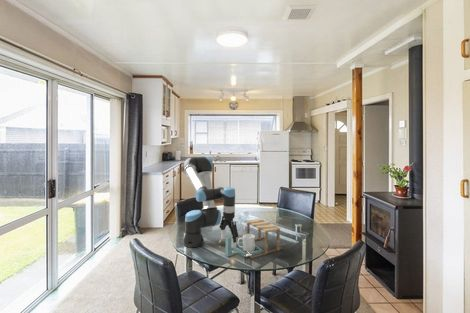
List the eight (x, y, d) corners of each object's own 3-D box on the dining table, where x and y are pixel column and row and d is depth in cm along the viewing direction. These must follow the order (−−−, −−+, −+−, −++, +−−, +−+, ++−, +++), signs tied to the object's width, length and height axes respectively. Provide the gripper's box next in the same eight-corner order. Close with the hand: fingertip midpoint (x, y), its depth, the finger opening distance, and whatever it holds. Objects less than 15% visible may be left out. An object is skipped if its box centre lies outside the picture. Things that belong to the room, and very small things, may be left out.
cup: (255, 253, 176) (255, 238, 175) (237, 252, 176) (237, 238, 176) (254, 247, 184) (254, 233, 184) (237, 247, 185) (237, 233, 184)
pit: (266, 240, 198) (266, 240, 198) (273, 238, 202) (273, 238, 202) (278, 247, 186) (279, 246, 186) (286, 245, 190) (286, 244, 190)
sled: (219, 250, 179) (220, 233, 178) (247, 243, 191) (247, 227, 190) (234, 261, 164) (234, 242, 163) (262, 253, 176) (263, 235, 175)
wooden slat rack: (232, 245, 187) (232, 223, 186) (263, 238, 202) (263, 217, 201) (251, 258, 168) (251, 234, 166) (283, 249, 182) (284, 226, 181)
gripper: (214, 207, 178) (214, 237, 180) (234, 218, 157) (233, 251, 159) (224, 205, 182) (223, 235, 184) (244, 216, 161) (243, 249, 163)
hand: (228, 243), depth 172 cm, fingers open, 13 cm apart
